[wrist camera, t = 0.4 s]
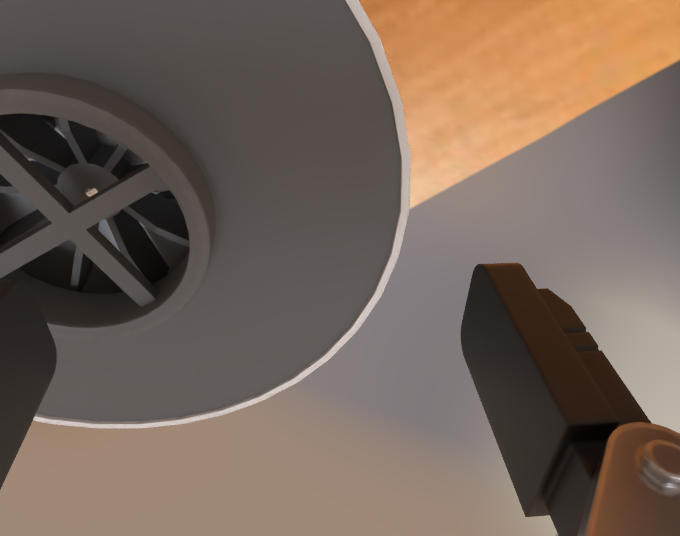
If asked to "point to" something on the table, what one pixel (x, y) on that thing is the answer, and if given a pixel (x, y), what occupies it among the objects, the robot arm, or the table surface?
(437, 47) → the table surface
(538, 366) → the robot arm
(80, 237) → the humidifier
